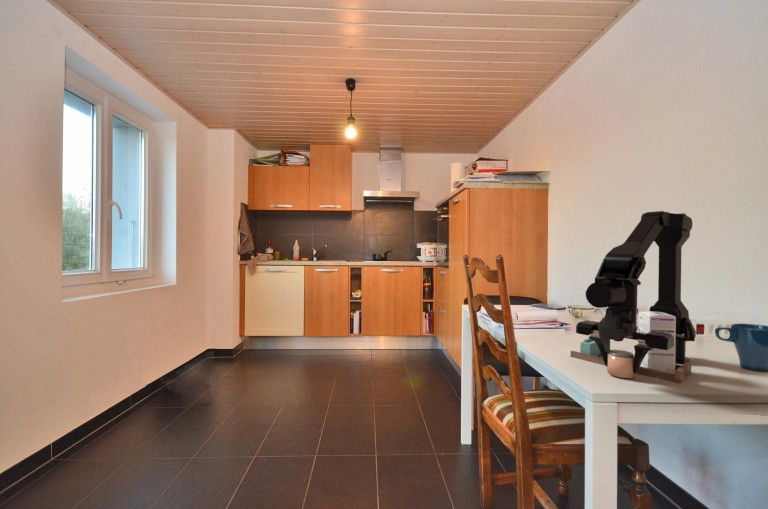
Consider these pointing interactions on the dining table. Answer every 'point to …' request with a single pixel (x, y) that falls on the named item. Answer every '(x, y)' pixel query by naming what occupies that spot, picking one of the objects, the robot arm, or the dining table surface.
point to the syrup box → (655, 357)
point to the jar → (620, 363)
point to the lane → (678, 377)
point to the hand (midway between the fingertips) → (620, 369)
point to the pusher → (589, 347)
